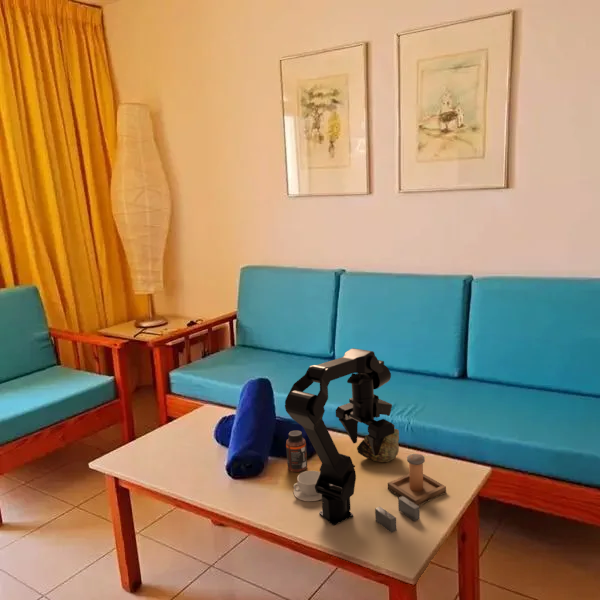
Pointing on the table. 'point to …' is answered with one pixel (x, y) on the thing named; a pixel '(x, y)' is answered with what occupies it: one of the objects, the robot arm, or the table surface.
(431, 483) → the tray
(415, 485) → the pin
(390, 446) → the seashell
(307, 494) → the teacup
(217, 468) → the table surface
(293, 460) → the supplement bottle
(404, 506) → the hitch bracket
